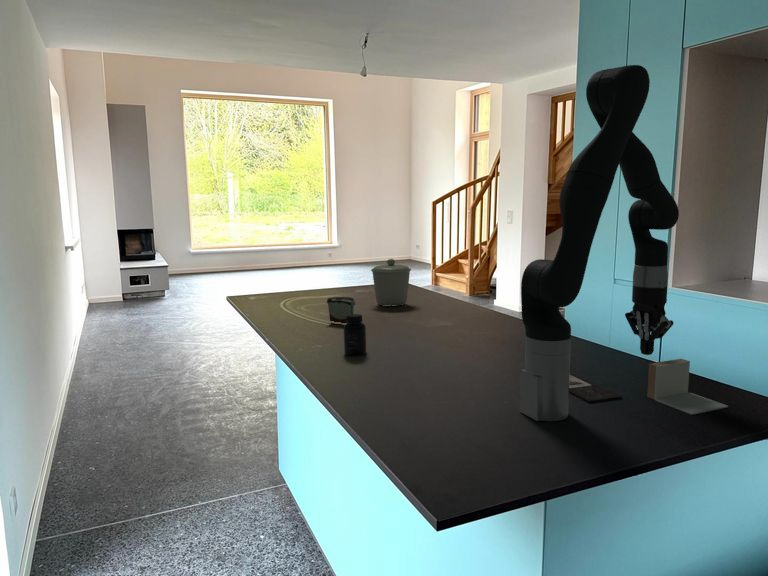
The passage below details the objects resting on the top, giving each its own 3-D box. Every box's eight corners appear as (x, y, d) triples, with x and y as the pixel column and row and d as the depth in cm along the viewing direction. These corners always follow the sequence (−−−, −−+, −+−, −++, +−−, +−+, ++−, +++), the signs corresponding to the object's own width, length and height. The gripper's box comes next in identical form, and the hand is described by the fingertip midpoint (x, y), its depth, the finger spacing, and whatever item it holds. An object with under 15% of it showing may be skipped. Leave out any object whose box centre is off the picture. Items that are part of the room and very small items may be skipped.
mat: (691, 414, 117) (691, 413, 117) (655, 400, 126) (655, 399, 126) (728, 407, 121) (728, 405, 121) (690, 393, 130) (690, 392, 129)
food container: (362, 323, 213) (361, 298, 211) (353, 326, 208) (352, 300, 206) (336, 320, 219) (336, 295, 218) (327, 323, 214) (326, 298, 213)
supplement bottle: (371, 353, 170) (370, 315, 169) (355, 357, 165) (354, 318, 164) (355, 349, 175) (354, 312, 173) (339, 353, 170) (338, 315, 168)
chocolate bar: (588, 401, 125) (543, 377, 142) (588, 405, 125) (543, 381, 142) (621, 396, 127) (573, 374, 144) (621, 400, 127) (573, 377, 145)
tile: (655, 400, 126) (657, 366, 125) (647, 396, 128) (649, 363, 127) (687, 394, 130) (689, 361, 129) (678, 390, 132) (681, 358, 131)
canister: (368, 308, 243) (367, 261, 240) (375, 301, 261) (374, 257, 257) (409, 309, 240) (408, 261, 237) (413, 301, 258) (413, 256, 254)
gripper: (616, 281, 136) (614, 349, 139) (660, 288, 124) (657, 363, 127) (640, 279, 139) (637, 346, 142) (685, 286, 127) (681, 359, 129)
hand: (646, 354), depth 134 cm, fingers closed
